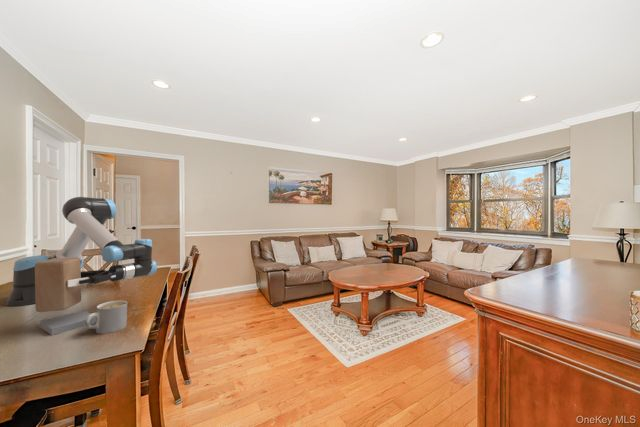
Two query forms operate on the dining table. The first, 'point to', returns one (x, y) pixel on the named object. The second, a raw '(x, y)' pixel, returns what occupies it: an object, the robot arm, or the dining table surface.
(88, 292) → the dining table surface
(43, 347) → the dining table surface
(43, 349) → the dining table surface
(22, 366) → the dining table surface
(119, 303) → the coffee mug
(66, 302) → the block
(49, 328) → the stand
